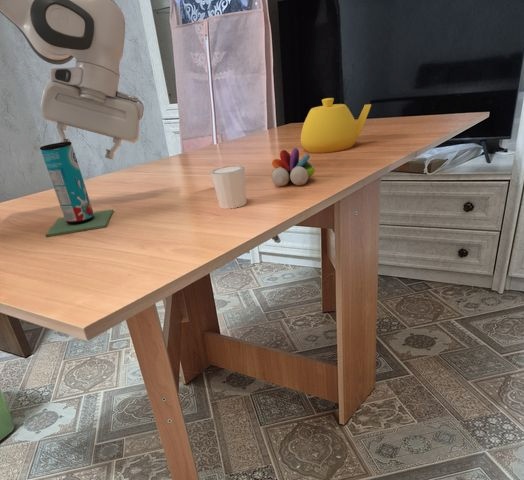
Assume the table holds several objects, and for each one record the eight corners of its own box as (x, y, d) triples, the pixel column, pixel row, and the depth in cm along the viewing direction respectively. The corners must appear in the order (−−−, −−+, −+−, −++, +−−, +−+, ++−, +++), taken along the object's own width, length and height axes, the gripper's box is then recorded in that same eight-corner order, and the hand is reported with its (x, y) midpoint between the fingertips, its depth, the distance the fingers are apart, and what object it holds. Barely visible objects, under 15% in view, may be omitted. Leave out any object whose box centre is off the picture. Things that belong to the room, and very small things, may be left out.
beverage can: (93, 222, 96) (68, 144, 88) (64, 227, 96) (36, 149, 88) (96, 214, 101) (73, 140, 93) (68, 219, 101) (42, 145, 93)
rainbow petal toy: (279, 178, 111) (276, 146, 107) (319, 177, 107) (317, 143, 103) (267, 188, 104) (263, 154, 100) (309, 186, 101) (307, 151, 97)
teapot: (298, 156, 131) (294, 105, 124) (305, 143, 146) (302, 98, 139) (371, 149, 126) (371, 96, 120) (370, 137, 142) (370, 89, 135)
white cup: (240, 197, 100) (235, 163, 96) (255, 203, 95) (250, 167, 91) (211, 205, 98) (205, 170, 94) (224, 212, 92) (218, 175, 89)
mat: (46, 237, 93) (45, 234, 93) (59, 220, 103) (58, 218, 103) (106, 227, 94) (105, 224, 94) (113, 211, 104) (112, 209, 104)
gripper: (146, 102, 105) (136, 166, 108) (50, 75, 101) (43, 142, 104) (143, 96, 99) (133, 163, 102) (41, 66, 95) (34, 138, 98)
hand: (87, 153), depth 103 cm, fingers open, 8 cm apart
